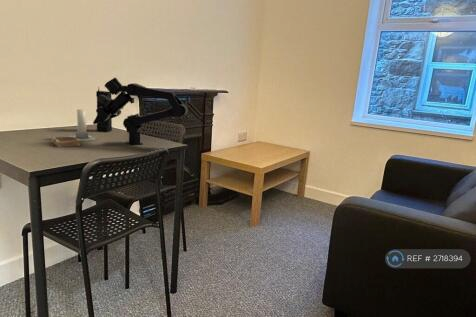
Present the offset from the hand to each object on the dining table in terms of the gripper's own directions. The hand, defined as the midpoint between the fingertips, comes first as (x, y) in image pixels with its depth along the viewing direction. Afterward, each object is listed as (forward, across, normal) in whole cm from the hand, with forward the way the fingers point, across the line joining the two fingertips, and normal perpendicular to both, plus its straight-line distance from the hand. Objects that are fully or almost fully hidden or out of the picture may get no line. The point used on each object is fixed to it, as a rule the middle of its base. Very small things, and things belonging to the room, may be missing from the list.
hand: (97, 122), depth 174 cm
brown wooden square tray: (+13, +14, 0) cm, 19 cm away
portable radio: (+11, -25, +2) cm, 28 cm away
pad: (+12, 0, +1) cm, 12 cm away
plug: (+12, 0, 0) cm, 12 cm away
